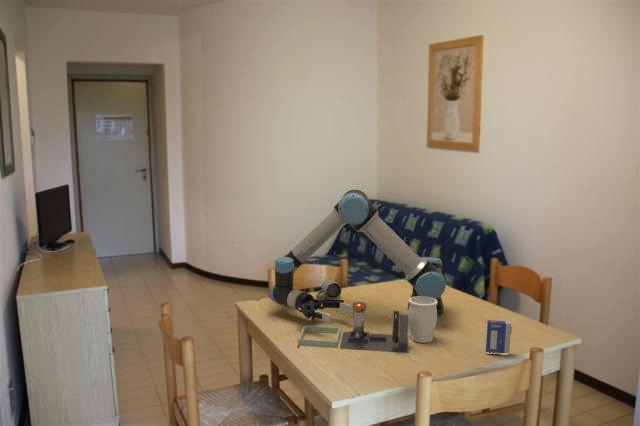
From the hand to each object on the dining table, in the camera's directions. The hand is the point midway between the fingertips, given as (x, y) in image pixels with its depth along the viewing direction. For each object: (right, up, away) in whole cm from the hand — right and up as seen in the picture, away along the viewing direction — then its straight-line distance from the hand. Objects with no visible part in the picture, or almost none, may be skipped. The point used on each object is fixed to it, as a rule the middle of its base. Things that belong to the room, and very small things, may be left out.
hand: (341, 313), depth 217 cm
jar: (+30, -9, -2) cm, 31 cm away
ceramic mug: (-4, -1, +46) cm, 46 cm away
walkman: (+54, -12, -14) cm, 57 cm away
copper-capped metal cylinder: (+6, -8, -4) cm, 11 cm away
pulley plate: (+12, -10, -8) cm, 17 cm away
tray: (-8, -9, -5) cm, 13 cm away
